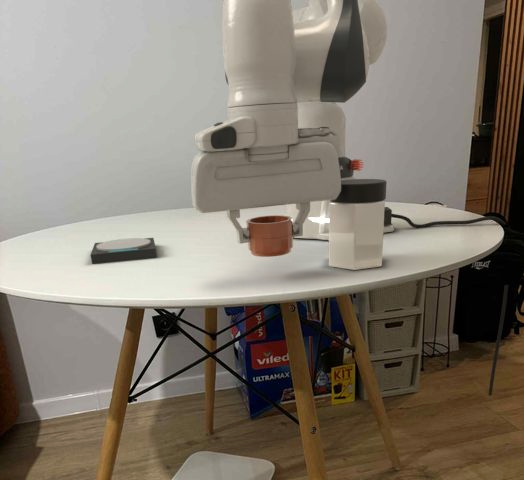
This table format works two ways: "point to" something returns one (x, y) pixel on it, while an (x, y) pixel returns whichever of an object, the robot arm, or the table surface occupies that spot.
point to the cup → (270, 235)
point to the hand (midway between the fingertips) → (269, 239)
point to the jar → (357, 224)
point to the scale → (123, 250)
